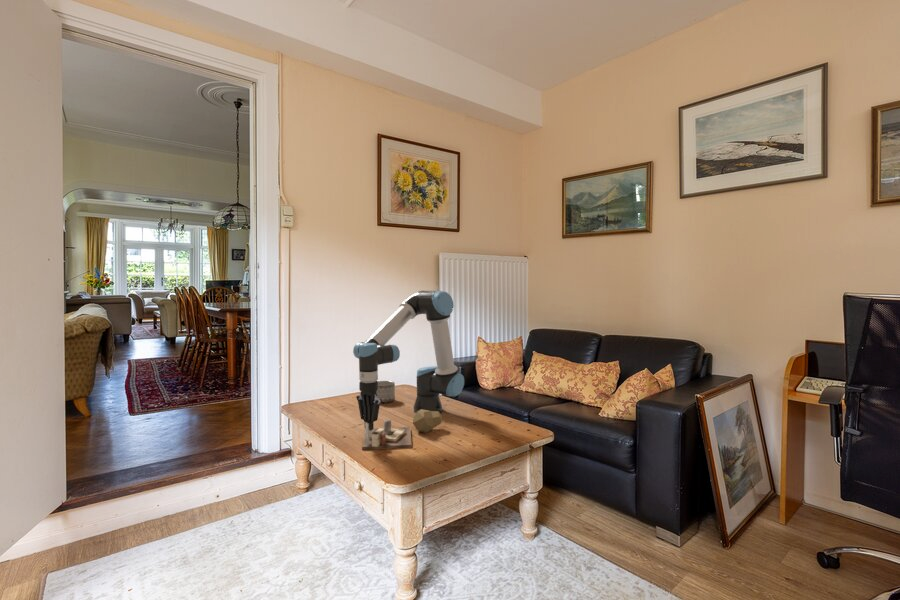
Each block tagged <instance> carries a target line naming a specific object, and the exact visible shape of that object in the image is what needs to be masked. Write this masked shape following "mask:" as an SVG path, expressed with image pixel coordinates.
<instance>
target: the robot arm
mask: <svg viewBox="0 0 900 600" xmlns="http://www.w3.org/2000/svg"><path fill="white" fill-rule="evenodd" d="M453 309H454V299H453V298H452V296H451V294H450V293H448V292H447V291H444V290H443V291H442V290H419V291H417V292H414V293H413V294H411V295H410V296H408V297H407V298H405V299H404V300H403V301H402V302H401V303H400V304H399V307H398V309H397V310H396V311H395V312H394V313H393V314H392V315H390V317H389V318H387V320H386V321H384V322H383V323H382V324H381V326H379V327H378V328H377V329H376V330H375V331H374V332H373V333H372V334H371V335H370V336H369V337H368V338H367V339H366V340H365V341H364V342H363V341H361V342H360V341H359V342H357V343H356V344H355V345H354V346H353V350H352V353H353V356H354V357H355V358H356V359H358V364H359V365H358V370H359V372H358V373H359V377H358V379H359V385H358V386H359V388H358V389H359V391H360V394H359V395H356V397H355V398H356V401H357V404H358V410H359V416H360V419H361V420H363V422H364V429H365V432H364V436H365V438H371V437H372V433H373V429H374V422H376V421H378V419H379V418H378V417H379V413H380V406H381V404H382V403H381V401H382V400H381V399H378V398H377V393H376V391H377V390H378V380H379V378H378V377H379V373H378V372H379V370H378V367H379V366H380V365H384V364H389V363H390V364H392V363H394V362H397V361H398V360H399V358H400V357H401V356H400V355H401V354H400V351H401V350H400V349H399V347H398V346H397V345H396V344H387V343H388V342H390V340H391V339H392V338H393V337H394V336H395V335H396V334H397V333H398V332H399V331H400V330H401V329H402V328H404V326H405V325H406V324H407V323H408V322H409V321H410V320H413V319H415V317H417V316H419V315H425V317H426V321H428V322H429V323H430V327H431V328H430V329H431V335H432V341H433V348H434V356H435V361H436V366H433V365H432V366H426V367H420V368H418V369H417V371H416V398H415V401H414V405H413V412H414V414H416V413H417V411H419V410H421V409H423V410H428V411H439V413H440V414H441V413H442V411H443V405H442V404H443V403H442V402H441V398H440V395H443V396H444V395H445V396H447V397H456V396H458V395H460V393H462V391H463V388H464V386H465V377H464V375H463V374H461V373H459V369H458V366H457V365H455V362H454V355H453V354H454V353H453V348H452V342H451V340H452V339H451V334H450V328H449V327H450V326H449V322H448V321H449V319H450V318H451V314H452V313H453Z"/></svg>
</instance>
